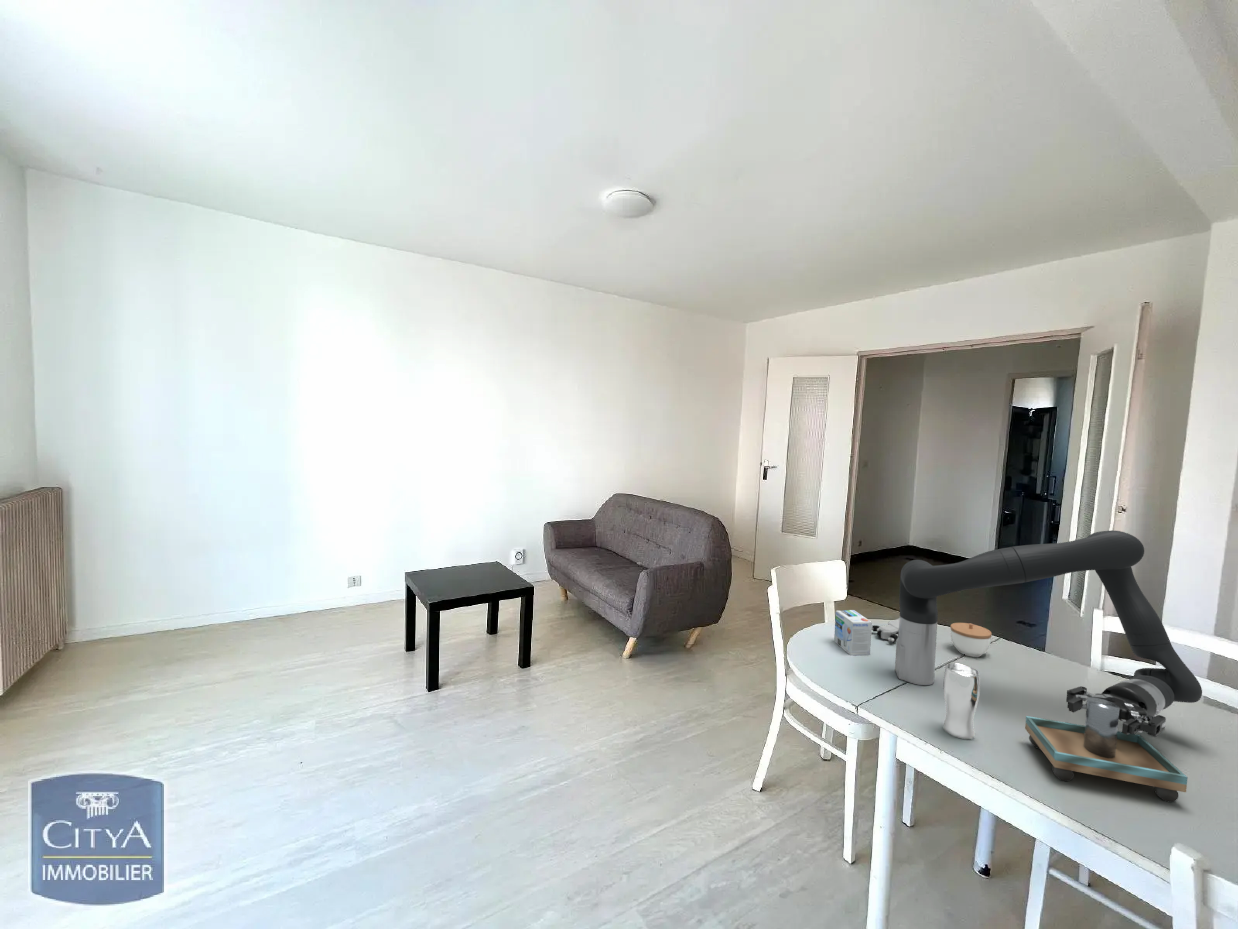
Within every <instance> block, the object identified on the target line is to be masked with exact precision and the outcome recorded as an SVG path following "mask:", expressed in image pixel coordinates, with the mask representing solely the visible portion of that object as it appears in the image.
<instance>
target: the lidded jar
mask: <svg viewBox="0 0 1238 929" xmlns="http://www.w3.org/2000/svg"><path fill="white" fill-rule="evenodd" d="M949 627H950V628H949V629H950V640H951V642H952V645H953V646H954V648H955V649H956V650H957V651H959V653H960V654H962V655H964V654H965V655H964V656H967V657H973V658H979V657H981V656H982V655H984V654H985V653H987V652H988V650H989V649H990V647H991V640H992V631H991V630H989V629H988V628H986V627H984V626H983V627H982V626H980V625H977V624H973V623H967V622H954V623H951V624H950V626H949Z"/></svg>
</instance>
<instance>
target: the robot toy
mask: <svg viewBox="0 0 1238 929" xmlns="http://www.w3.org/2000/svg"><path fill="white" fill-rule="evenodd" d="M899 618H900V617H899ZM899 618H896V619H893V620H889V621H888V622H887V624H886V625H884V624H883V625H873V624H872V629H871V631H872V632H875V633H876V635H877V637H879V638H881V639H883V640H886V641H889V642H893V643H895V642H896V640H897V639H898V636H899Z"/></svg>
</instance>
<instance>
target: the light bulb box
mask: <svg viewBox="0 0 1238 929" xmlns="http://www.w3.org/2000/svg"><path fill="white" fill-rule="evenodd" d="M834 615H835V619H834V634H833V636H834V637H833V638H834V640H833V641H834V643H836V645H838V646H839V647H840V648H842V649H843V651H845V652H846V653H847V654H848V655H849V654H850V656H870V655H871V646H872V630H871V629H872V625H873V622H872V621H871V620H870V619H868V618H867V617H865V616H863V615H862V614H861V613H859V612H858V611H856V610H855V609H847V610H846V609H845V610H842V609H840V610H835V614H834Z"/></svg>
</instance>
